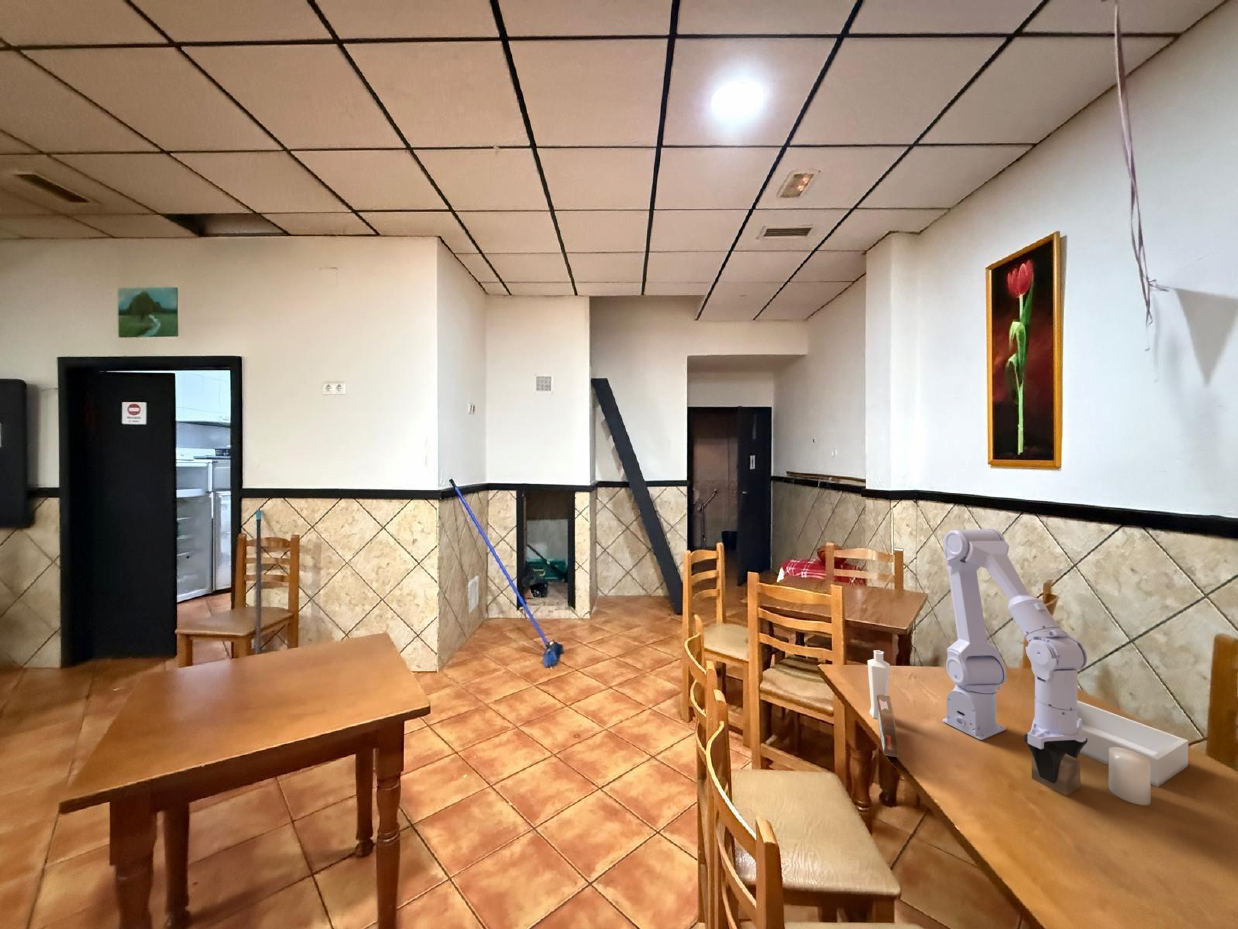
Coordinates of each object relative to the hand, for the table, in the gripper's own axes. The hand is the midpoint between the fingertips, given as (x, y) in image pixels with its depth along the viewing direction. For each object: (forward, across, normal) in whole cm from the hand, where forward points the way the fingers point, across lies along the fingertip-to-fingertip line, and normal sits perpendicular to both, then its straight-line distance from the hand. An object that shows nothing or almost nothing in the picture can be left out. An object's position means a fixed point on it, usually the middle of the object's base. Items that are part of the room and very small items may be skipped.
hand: (1055, 775), depth 85 cm
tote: (+1, +22, 0) cm, 22 cm away
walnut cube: (+1, 0, 0) cm, 1 cm away
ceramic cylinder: (+1, +8, -7) cm, 11 cm away
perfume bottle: (+2, -9, +29) cm, 30 cm away
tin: (+2, -17, +21) cm, 27 cm away
